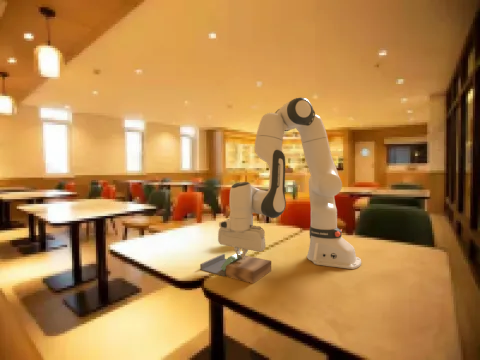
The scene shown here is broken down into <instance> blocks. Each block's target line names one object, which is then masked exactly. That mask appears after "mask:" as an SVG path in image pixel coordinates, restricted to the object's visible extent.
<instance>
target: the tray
mask: <svg viewBox="0 0 480 360" xmlns="http://www.w3.org/2000/svg"><path fill="white" fill-rule="evenodd" d="M225 255H226V254H225V253H221V254H219V255H217V256H216V257H213V258H211V259H209V260H206V261H204V262H202V263H200V265H199V266H200V267H199V270H200V271H201V272H202V271H203V272H206V273H211V274H214V275H218V276H221V275H222V276H221V277H225V275H226V271H223V270H222V268H221V267H222V265H223V264H224V263H225V261H226V260H227V258H226V257H225Z"/></svg>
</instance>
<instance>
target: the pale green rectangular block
mask: <svg viewBox="0 0 480 360" xmlns="http://www.w3.org/2000/svg"><path fill="white" fill-rule="evenodd" d="M240 253H243V251H240ZM226 259H227V260H226V261H225V263H224V264H223V265H222V267H221V268H222V270H223V271H226V265H228V264H230V263H232V262H234V261H236V260H238V258H237V254H236V253H235V254H232V255H230V256H228V257H227V258H226Z"/></svg>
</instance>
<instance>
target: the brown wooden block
mask: <svg viewBox="0 0 480 360" xmlns="http://www.w3.org/2000/svg"><path fill="white" fill-rule="evenodd" d="M270 272H272V260H270V259H269V260H268V259H265V258H259V257H254V256H249V255H245V259H244V260H243V259H238V260H236V261H234V262H232V263H230V264H228V265H226V277H227V276H228V278H231V277H232V278H231V279H234V278H235V280H238V279H239V280H238V281H242V280H243V282H246V283H249V282H250V284H255V282H257V281H259V280H260V279H261V278H263V277H265V276H266V275H267V274H268V273H270Z"/></svg>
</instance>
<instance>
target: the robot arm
mask: <svg viewBox="0 0 480 360" xmlns="http://www.w3.org/2000/svg"><path fill="white" fill-rule="evenodd" d="M294 129H296V131H298V133H299V136H300V141H301V144H302V146H301V147H302V150H303V154H304V155H303V156H304V159H305V162H306V166H307V167H308V170H309V171H308V172H309V173H310V176H309V178H308V192H309V193H308V194H309V195H308V196H309V203H310V226H309V239H310V241H309V246H308V247H309V248H308V252H307V256H306V258H307V259H308V260H309V261H310V262H312V263H313V264H314V265H317V266H324V267H325V266H326V267H332V268H338V269H339V268H341V269H349V270H354V269H358V268H359V267H361V265H362V259H361V258H360V257H358V256H357V255H356V250H355V247H354V246H353V245H352V244H351V243H350V242H349V241H347V240H346V239H345V238H344V237H343V236H342V235H343V234H342V233H343V228H342V229H340V228H338V209H337V206H336V200H335V196H337V195H338V194H340V192H341V190H342V188H343V182H342V180H341V177H340V176H339V171H338V169H337V167H336V163H335V162H334V158H333V156H332V152H331V148H330V144H329V139H328V133H327V131H326V127H325V124H324V122H323V119H322V117H321V116H319V115H317V114H316V112H315V110H314V108H313V106H312V104H311V102H310V101H309V99H307V98H305V97H295V98H293V99H291V100H290V101H287V102H286V103H284V104H283V105H282V106H281V107H280V108H278V109H277V110H276V111H275V112H269V113H268V112H267V113H265V114H264V115H262V116H261V119H260V121H259V124H258V128H257V132H256V136H255V141H254V152H255V153H256V156H257V157H258V158H259V159H260V160H262V161H264V162H265V163H266V164H268V167H269V182H268V183H269V184H268V186H269V187H268V189H267V190H264V189H259V188H257V187H255V186H253V185H252V184H251V183H250V182H248V181H241V182H236V183H234V184H232V185H231V187H230V190H229V198H228V199H229V202H228V203H229V209H230V211H229V218H228V219H225V220H222V221H220V222H218V226H219V228H218V231H217V232H218V234H217V235H218V236H217V241H218V244H219V245H221V246H222V245H223V246H226V247H233V249H234V252H235V254H237V258H238V259H243V260H244V259H245V256H246V255H247V252H249V251H253V252H258V253H261V252H263V251H264V250H265V249H266V238H265V236H266V235H265V234H266V233H265V229H264V228H262V226H260V225H254V224H253V225H252V214H257V215H263V216H265V217H267V218H271V219H277V218H278V217H280V216H281V215H282V214H283V213H284V211H285V209H286V206H287V205H286V204H287V203H286V202H287V201H286V193H285V192H286V191H285V189H286V156H285V153H284V152H283V140H284V133H285V132H288V131H291V130H294ZM240 249H241V251H240ZM240 252H242V253H240Z"/></svg>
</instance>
